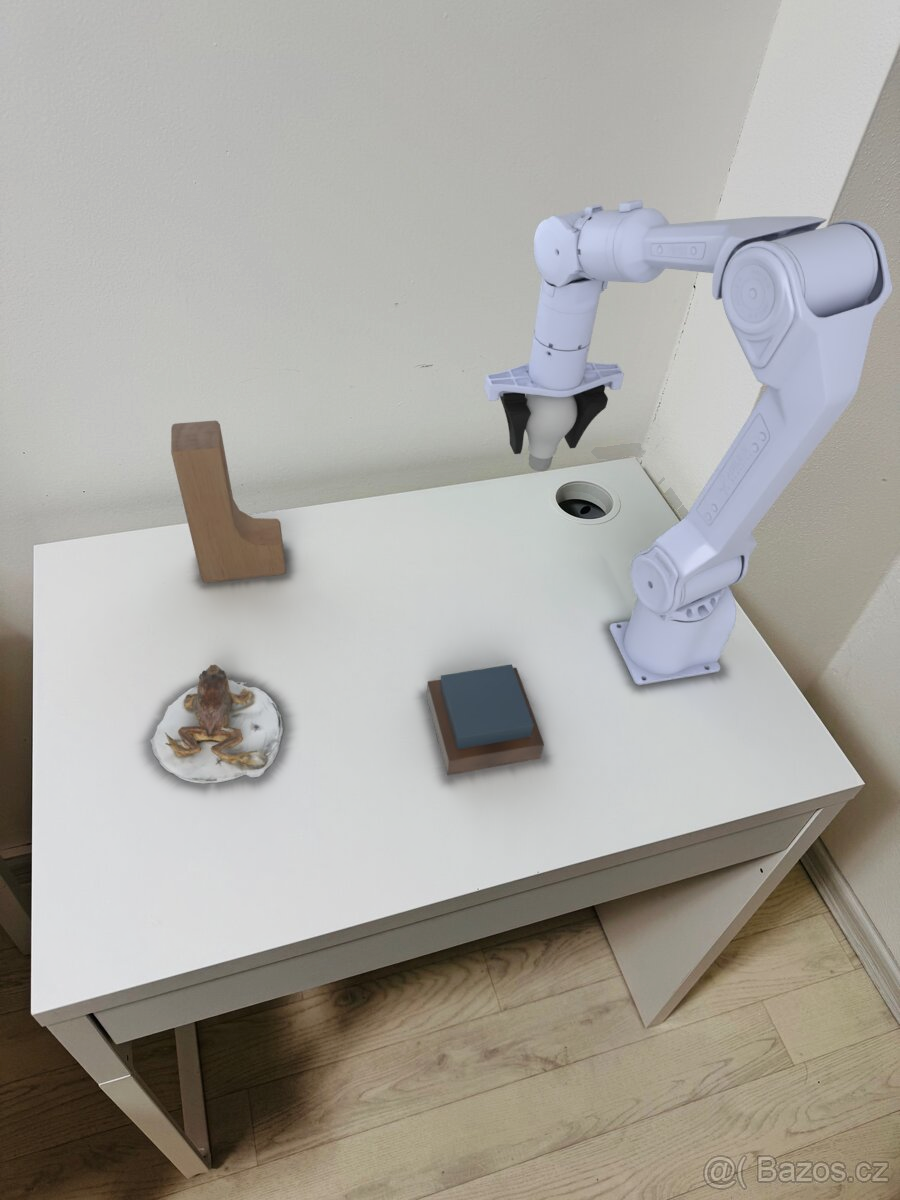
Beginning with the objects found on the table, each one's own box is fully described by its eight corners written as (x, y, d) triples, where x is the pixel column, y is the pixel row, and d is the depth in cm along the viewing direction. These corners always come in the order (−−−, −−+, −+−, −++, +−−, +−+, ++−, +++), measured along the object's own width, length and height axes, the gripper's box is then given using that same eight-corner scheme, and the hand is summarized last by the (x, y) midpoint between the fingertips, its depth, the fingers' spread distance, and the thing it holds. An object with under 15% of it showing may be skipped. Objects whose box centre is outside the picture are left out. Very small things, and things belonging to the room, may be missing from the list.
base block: (513, 681, 84) (516, 666, 82) (540, 758, 78) (544, 744, 76) (426, 696, 82) (427, 681, 80) (447, 775, 76) (448, 761, 75)
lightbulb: (561, 491, 94) (578, 408, 85) (508, 481, 94) (519, 398, 86) (567, 457, 98) (584, 376, 89) (516, 448, 98) (528, 366, 90)
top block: (509, 676, 81) (512, 664, 80) (530, 737, 77) (533, 724, 75) (439, 687, 80) (440, 675, 78) (457, 750, 75) (458, 738, 74)
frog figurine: (152, 688, 81) (144, 664, 78) (278, 673, 83) (274, 649, 80) (148, 793, 73) (138, 771, 71) (286, 774, 76) (282, 752, 73)
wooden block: (283, 546, 95) (266, 414, 81) (286, 575, 92) (270, 443, 78) (201, 555, 93) (170, 422, 80) (202, 584, 90) (170, 451, 77)
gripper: (615, 310, 87) (591, 418, 97) (482, 319, 84) (471, 430, 94) (641, 346, 83) (613, 456, 93) (500, 358, 80) (487, 469, 90)
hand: (543, 445), depth 93 cm, fingers closed on lightbulb, 6 cm apart
